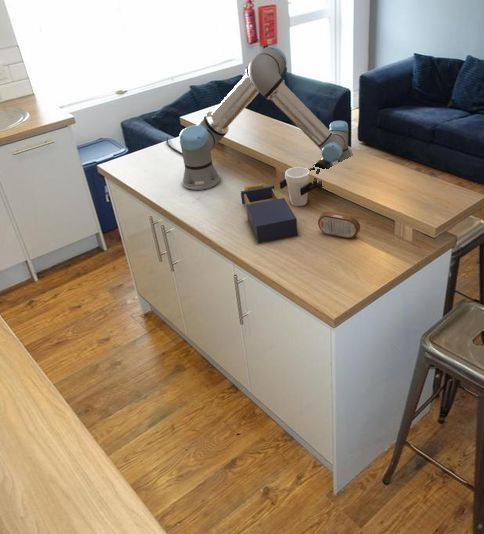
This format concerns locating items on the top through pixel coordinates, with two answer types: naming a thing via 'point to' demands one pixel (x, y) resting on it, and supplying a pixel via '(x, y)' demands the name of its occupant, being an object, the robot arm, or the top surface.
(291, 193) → the foam cup
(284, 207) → the cabinet
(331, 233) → the tin
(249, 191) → the drawer
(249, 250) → the top surface
